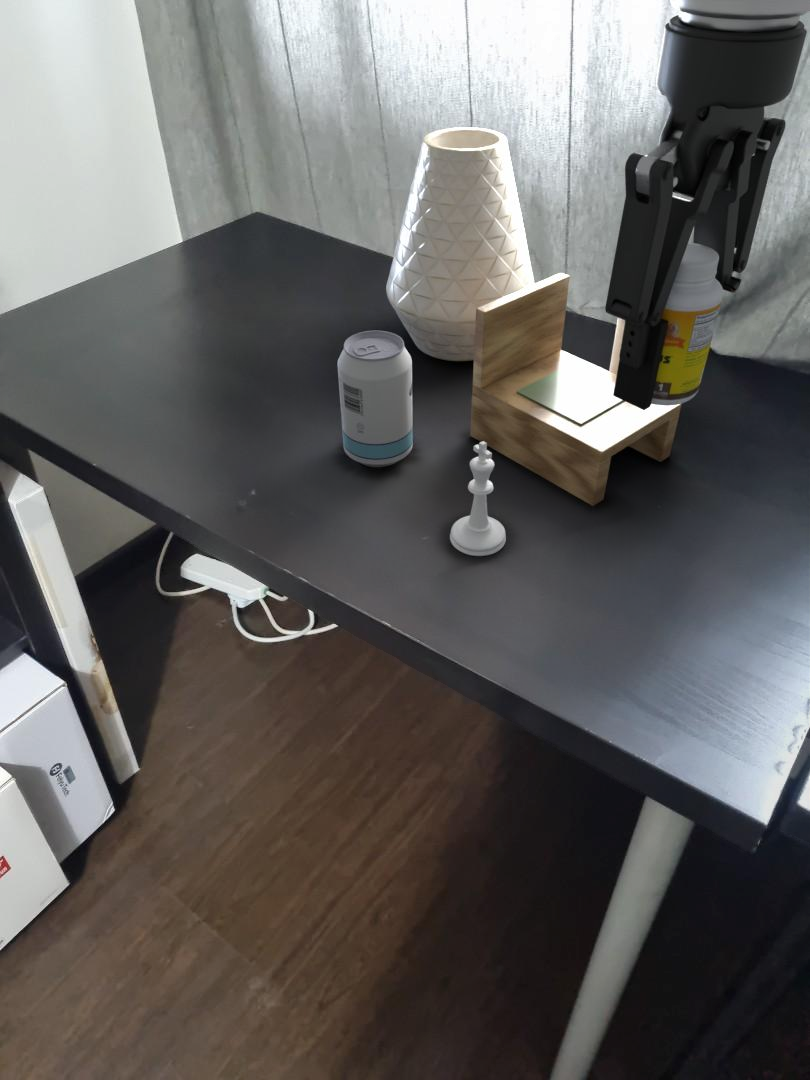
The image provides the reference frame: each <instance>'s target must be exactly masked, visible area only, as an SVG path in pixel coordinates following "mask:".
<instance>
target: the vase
mask: <svg viewBox="0 0 810 1080" xmlns="http://www.w3.org/2000/svg"><path fill="white" fill-rule="evenodd" d="M510 155H511V154H510V149H509V144H508V139H507V137H506V135H504V134H503V133H501V132H498V131H496V130H493V129H489V128H482V127H481V128H480V127H465V126H464V127H449V128H448V127H447V128H443V129H437V130H434V131H432V132H428V133H427V134H426V135H424V137H423V138H422V142H421V146H420V150H419V154H418V157H417V161H416V165H415V169H414V173H413V178H412V182H411V185H410V190H409V194H408V198H407V201H406V206H405V209H404V212H403V213H404V214H403V218H402V222H401V226H400V229H399V233H398V237H397V242H396V246H395V250H394V254H393V257H392V262H391V265H390V270H389V275H388V277H387V281H386V287H385V289H386V291H385V292H386V297H387V299H388V302H389V303H390V305H391V307H392V308H393V310H394V312H395V313H396V315H397V317H398V318H399V320H400V322H401V323H402V325H403V327H404V328H405V330H406V331H407V333H408V335H409V336H410V338H411V340H412V342H413V343H414V345H415V346H416V347H417V349H419V350H420V351H421V352H422V353H423V354H425V355H427V356H430V357H432V358H434V359H437V360H442V361H450V362H470V361H471V362H472V361H474V345H475V321H476V308H478V307H481V306H483V305H486V304H488V303H490V302H493V301H495V300H497V299H500V298H502V297H504V296H507V295H509V294H512V293H514V292H516V291H519V290H521V289H523V288H526V287H528V286H530V285H533V284H535V283H536V282H535V279H534V278H535V277H534V273H533V269H532V263H531V259H530V253H529V248H528V243H527V237H526V231H525V227H524V222H523V216H522V211H521V206H520V202H519V197H518V192H517V191H518V190H517V186H516V180H515V176H514V171H513V164H512V160H511V156H510Z"/></svg>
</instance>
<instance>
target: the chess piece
mask: <svg viewBox="0 0 810 1080" xmlns="http://www.w3.org/2000/svg"><path fill="white" fill-rule="evenodd" d="M487 448H488V446H487V443H486V442H484V441H482V442H480V441H479V442H478V444H475V445H473V452H475V453H477V454H478V456H476V457H473V458H472V459H471V460H470V461H469V468H470V471H471V473H472V476H473V477H472V478H473V479H472V480H470V481H469V482H468V485H467V489H468V491H469V492H470V493H471V494H472V495H473V500H472V506H471V510H470V514H469V515H466V516H463V517H461V518H459V519H458V520H456V521H455V522H454V523H453V524H452V526H451V529H450V533H449V540H450V543H451V545H452V546H453V548H455V549H456V550H458V551H459V552H461V553H463V554H465V555H468V556H474V557H483V556H484V557H485V556H491V555H493V554H495V553H498V552H499V551H500V550H501V549H502V548H503V547H504V545H505V544H506V541H507V536H506V529H505V527H504V525H503V524H502V523H501V522H500V521H499V520H497V519H495V518H494V517H491V516H489V514H488V502H487V495H489V494H491V493H492V492H493V491H494V485H493V484H494V483H493V482H492V481H491V480H489V479H490V476H491V473H492V472H493V470H494V469H495V461H494V460H493V459H492V458H493V452H491V451H490V450H488V449H487Z"/></svg>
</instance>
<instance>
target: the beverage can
mask: <svg viewBox="0 0 810 1080" xmlns="http://www.w3.org/2000/svg"><path fill="white" fill-rule="evenodd" d="M337 379H338V389H339V404H340V405H339V406H340V415H341V416H340V417H341V429H342V431H341V432H342V443H343V450H344V452H345V454H346V455H347V456H348V457H349V458H350V459H352V460H354V461H355V462H358V463H360V464H361V465H364V466H367V467H370V468H384V467H388V466H392V465H394V464H396V463H397V462H400V461H401V460H403V459H405V458H406V457H407V456H408V455H409V454H410V453H411V451H412V449H413V447H414V434H413V433H414V429H413V428H414V427H413V425H414V423H413V416H414V415H413V414H414V413H413V360H412V356H411V354H410V353H409V352H408V350H407V348H406V346H405V341H404V340H403V338H402V337H401V336H400V335H398V334H396V333H394V332H390V331H385V330H365V331H361V332H357V333H355V334H352V335H350V336H349V337H347V338H346V339H345V341H344V342H343V349H342V351H341V353H340V354H339V357H338V359H337Z"/></svg>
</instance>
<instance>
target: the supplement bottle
mask: <svg viewBox="0 0 810 1080" xmlns="http://www.w3.org/2000/svg"><path fill="white" fill-rule="evenodd" d="M718 261H719V255H718V253H717V252H716V251H715V250H713V249H712V248H709V247H707V246H704V245H700V244H695V243H693V242H688V245H687V247H686V250H685V253H684V256H683V259H682V261H681V264H680V267H679V270H678V273H677V275H676V278H675V281H674V284H673V287H672V289H671V292H670V295H669V298H668V301H667V303H666V306H665V309H664V312H663V315H662V317H661V319H664V320H666V321H669V322H668V327H667V331H666V336H665V341H664V345H663V350H662V355H661V359H660V364H659V369H658V373H657V378H656V383H655V388H654V392H653V397H652V402H651V404H655V405H664V406H668V405H677V404H681V405H682V404H684V403H686V402H689V401H690V400H692V399H693V398H694V397H695V396H696V395H697V394H698V393H699V390H700V386H701V383H702V380H703V375H704V373H705V372H704V371H705V368H706V363H707V360H708V357H709V352H710V348H711V344H712V340H713V337H714V332H715V329H716V324H717V321H718V317H719V313H720V309H721V306H722V302H723V298H724V290H723V288H722V286H721V284H720V283H719V281H718V280H716V279H715V275H716V273H717V265H718Z"/></svg>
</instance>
